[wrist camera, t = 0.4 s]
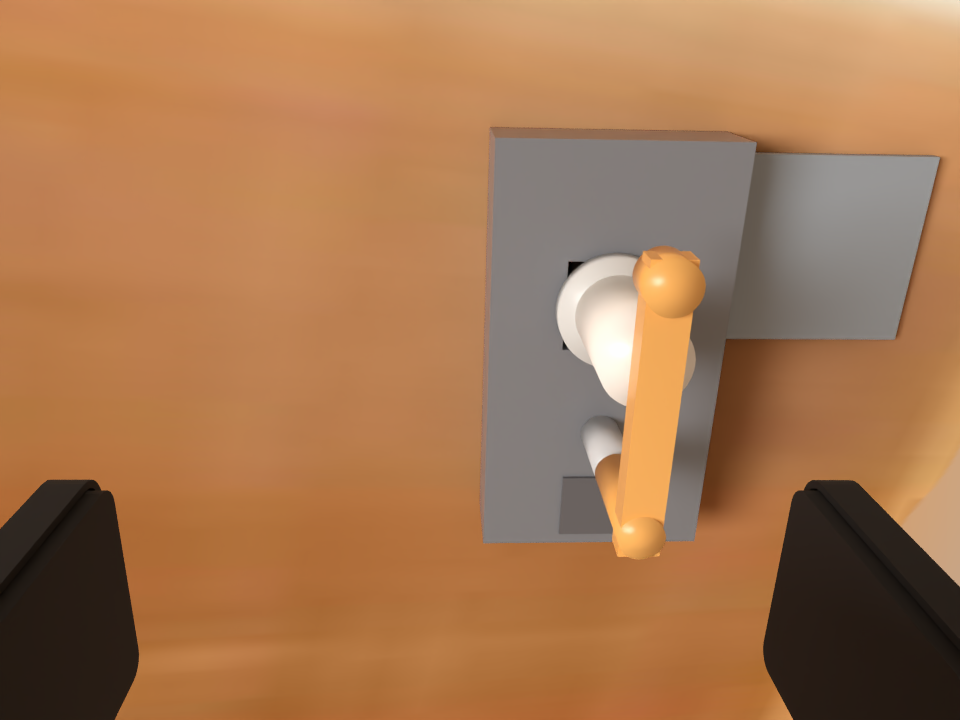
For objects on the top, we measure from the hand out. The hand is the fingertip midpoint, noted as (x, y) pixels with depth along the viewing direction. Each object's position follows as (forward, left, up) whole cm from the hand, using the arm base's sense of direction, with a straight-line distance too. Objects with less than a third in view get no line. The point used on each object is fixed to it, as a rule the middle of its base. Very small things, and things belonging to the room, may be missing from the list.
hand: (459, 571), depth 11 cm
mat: (+4, +20, -31) cm, 37 cm away
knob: (+6, +8, -31) cm, 33 cm away
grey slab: (+9, +8, -31) cm, 33 cm away
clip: (+7, +8, -23) cm, 26 cm away
